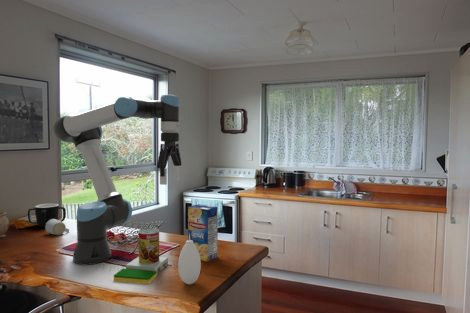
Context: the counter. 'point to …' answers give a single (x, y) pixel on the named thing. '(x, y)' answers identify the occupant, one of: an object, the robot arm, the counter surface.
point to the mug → (46, 214)
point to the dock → (148, 265)
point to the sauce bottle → (189, 263)
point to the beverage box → (204, 230)
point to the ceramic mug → (56, 227)
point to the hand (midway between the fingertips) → (170, 182)
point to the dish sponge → (135, 276)
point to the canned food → (148, 246)
